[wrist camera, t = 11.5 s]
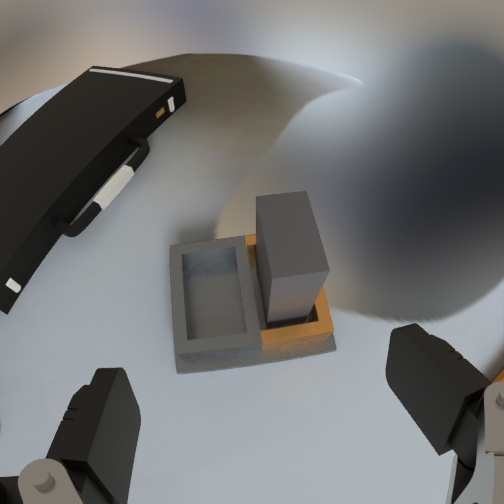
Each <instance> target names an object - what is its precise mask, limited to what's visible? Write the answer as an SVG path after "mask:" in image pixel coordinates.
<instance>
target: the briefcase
mask: <svg viewBox="0 0 504 504" xmlns="http://www.w3.org/2000/svg"><path fill="white" fill-rule="evenodd" d="M185 102H186V96H185V89H184V83H183V78H178V77H173V76H167V75H161V74H155V73H149V72H142V71H135V70H127V69H119V68H109V67H99V66H92V67H91V68H89V69H88V70H87V71H85V72H84V73H83V74H81V75H80V76H79V77H77V78H76V79H75V80H73V81H72V82H71V83H69V84H68V85H67V86H66V87H64V88H63V89H62V90H61V91H59V92H58V93H57V94H56V95H55V96H53V97H52V98H51V99H50V100H49V101H47V102H46V103H45V104H44V105H43V106H42V107H41V108H39V109H38V110H37V111H36V112H35V113H34V114H33V115H32V116H31V117H30V118H28V119H27V120H26V121H25V122H24V123H23V124H22V125H21V126H20V127H19V128H18V129H17V130H16V131H15V132H14V133H13V134H12V135H11V136H10V137H9V138H8V139H7V140H6V141H5V142H4V143H3V144H2V145H1V146H0V310H1V311H2V312H4V313H6V314H7V315H8V313H9V311H10V310H11V308H12V306H13V305H14V303H15V301H16V300H17V298H18V297H19V295H20V293H21V292H22V290H23V289H24V287H25V286H26V284H27V283H28V281H29V280H30V278H31V277H32V275H33V274H34V272H35V271H36V269H37V268H38V267H39V265H40V264H41V262H42V261H43V259H44V258H45V257H46V255H47V254H48V252H49V251H50V250H51V248H52V247H53V246H54V244H55V243H56V242H57V240H58V239H59V238H60V236H61V235H62V234H64V235H66V236H68V237H75V236H77V235H78V234H80V233H81V232H82V231H83V230H84V229H85V228H86V227H87V226H88V225H89V224H90V223H91V222H92V220H93V219H94V218H95V217H96V216H97V215H98V214H99V212H100V211H101V210H104V209H105V208H106V207H107V206H108V205H109V204H110V203H111V201H112V200H113V199H114V198H115V197H116V196H117V195H118V194H119V192H120V191H121V190H122V189H123V188H124V187H125V185H126V184H127V183H128V182H129V180H130V179H131V178H132V177H133V175H134V172H135V171H136V169H137V168H138V167H139V166H140V164H141V163H142V162H143V161H144V159H145V158H146V157H147V155H148V153H149V151H150V147H149V144H148V141H147V140H146V139H147V138H148V137H149V136H150V135H151V134H152V133H153V132H154V131H155V130H156V129H157V128H158V127H159V126H160V125H161V124H162V123H163V122H164V121H165V120H166V119H167V118H169V117H170V116H171V115H172V114H173V113H174V112H175V111H176V110H177V109H178V108H179V107H181V106H182V105H183V104H184V103H185ZM138 147H139V149H138V151H137V152H136V154H135V155H134V156H133V157H132V158H131V160H130V161H129V162H128V163H127V164H126V165H123V167H122V168H121V169H120V170H119V171H118V172H117V173H116V174H115V175H114V176H113V177H112V178H111V179H110V180H109V181H108V182H107V184H106V185H105V186H104V187H103V188H102V189H101V191H100V192H99V193H98V194H97V195H96V197H95V198H94V199H93V203H92V204H91V205H90V206H89V207H88V208H87V209H86V210H85V212H84V213H83V214H82V215H81V216H80V217H79V218H78V219H77V220H76V221H75V222H74V223H73V224H72V225H70V223H71V222H72V221H73V220H74V218H75V217H76V216H77V215H78V213H79V212H80V211H81V210H82V209H83V207H84V206H85V205H86V204H87V203H88V201H89V200H90V199H91V198H92V197H93V196H94V194H95V193H96V192H97V191H98V190H99V189H100V187H101V186H102V185H103V184H104V183H105V182H106V181H107V180H108V178H109V177H110V176H111V175H112V174H113V173H114V172H115V171H116V170H117V169H118V168H119V166H120V165H121V164H122V163H123V162H124V161H125V160H126V159H127V158H128V157H129V156H130V155H131V154H132V153H133V152H134V151H135V150H136V149H137V148H138Z"/></svg>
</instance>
